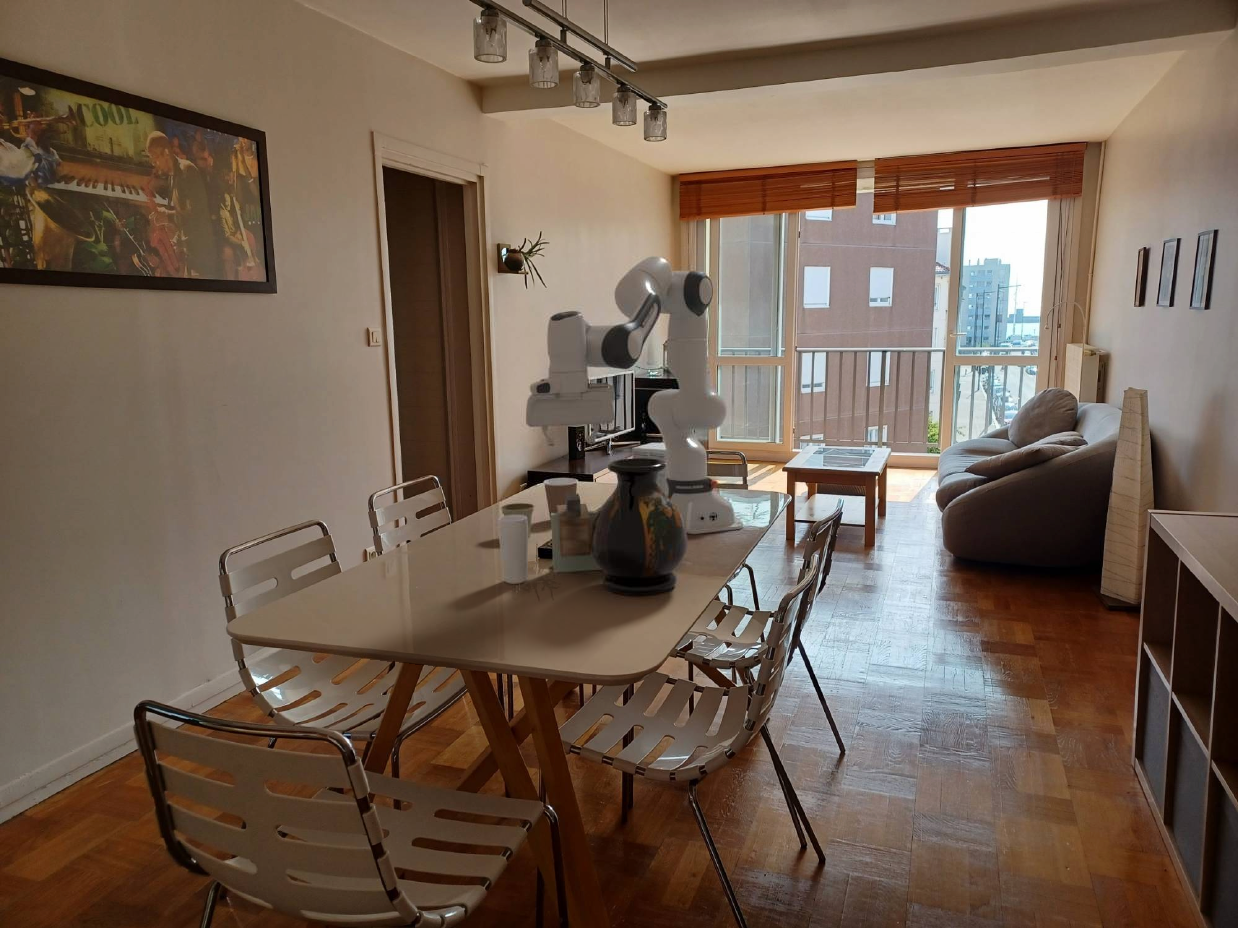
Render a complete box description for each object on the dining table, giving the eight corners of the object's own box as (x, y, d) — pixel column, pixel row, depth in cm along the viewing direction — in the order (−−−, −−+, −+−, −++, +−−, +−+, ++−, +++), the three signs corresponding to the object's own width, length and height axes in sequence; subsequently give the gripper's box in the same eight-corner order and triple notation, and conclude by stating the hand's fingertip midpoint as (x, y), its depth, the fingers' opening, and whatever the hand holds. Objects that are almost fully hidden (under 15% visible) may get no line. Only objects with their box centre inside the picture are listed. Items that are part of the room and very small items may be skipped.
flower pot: (539, 532, 242) (537, 502, 241) (532, 540, 233) (530, 510, 232) (506, 532, 243) (504, 502, 242) (498, 541, 234) (497, 510, 233)
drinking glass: (535, 577, 199) (532, 515, 197) (522, 586, 193) (519, 521, 190) (509, 575, 201) (505, 513, 199) (496, 584, 195) (492, 520, 192)
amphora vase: (672, 605, 177) (669, 472, 172) (576, 596, 185) (571, 469, 180) (699, 575, 197) (697, 455, 192) (612, 568, 204) (608, 453, 200)
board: (617, 561, 211) (615, 505, 208) (620, 568, 205) (618, 511, 202) (552, 565, 209) (550, 509, 206) (553, 572, 203) (551, 514, 201)
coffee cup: (586, 518, 258) (584, 479, 256) (566, 525, 249) (564, 485, 247) (558, 515, 263) (557, 476, 261) (538, 522, 255) (536, 482, 253)
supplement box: (667, 503, 276) (666, 449, 273) (632, 499, 283) (631, 447, 280) (686, 495, 287) (686, 444, 284) (653, 492, 294) (652, 442, 291)
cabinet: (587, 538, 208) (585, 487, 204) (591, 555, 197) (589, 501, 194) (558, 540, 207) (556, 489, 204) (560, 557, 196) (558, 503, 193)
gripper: (612, 381, 198) (614, 440, 200) (523, 385, 196) (527, 444, 198) (615, 383, 192) (617, 444, 194) (524, 387, 189) (527, 448, 192)
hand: (571, 444), depth 196 cm, fingers open, 8 cm apart
